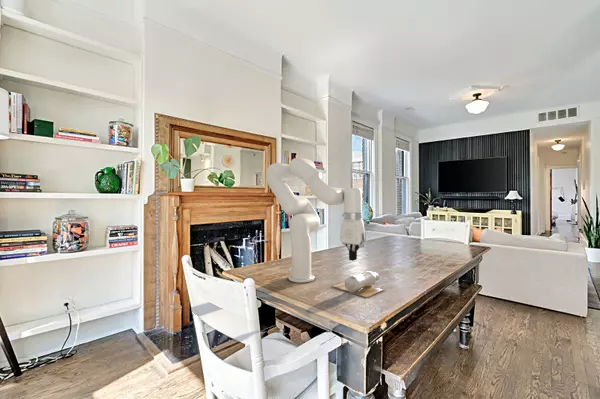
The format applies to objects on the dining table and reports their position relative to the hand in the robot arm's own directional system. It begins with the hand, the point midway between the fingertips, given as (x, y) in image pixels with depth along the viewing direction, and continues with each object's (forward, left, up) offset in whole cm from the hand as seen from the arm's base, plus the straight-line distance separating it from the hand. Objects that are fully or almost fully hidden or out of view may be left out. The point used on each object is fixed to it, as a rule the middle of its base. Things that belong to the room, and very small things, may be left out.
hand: (352, 259), depth 120 cm
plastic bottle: (+2, -5, -9) cm, 11 cm away
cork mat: (0, +3, -13) cm, 13 cm away
